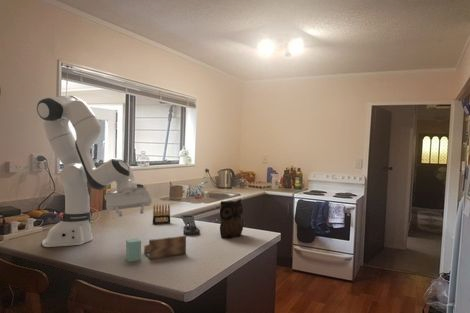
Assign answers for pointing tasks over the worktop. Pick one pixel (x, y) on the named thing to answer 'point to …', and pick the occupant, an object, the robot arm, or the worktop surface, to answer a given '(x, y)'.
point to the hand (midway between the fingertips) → (131, 214)
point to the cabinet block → (133, 249)
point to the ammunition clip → (157, 215)
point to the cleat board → (165, 247)
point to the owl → (231, 219)
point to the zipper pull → (190, 226)
